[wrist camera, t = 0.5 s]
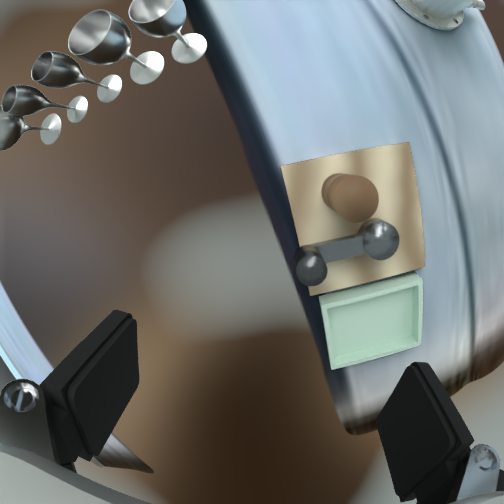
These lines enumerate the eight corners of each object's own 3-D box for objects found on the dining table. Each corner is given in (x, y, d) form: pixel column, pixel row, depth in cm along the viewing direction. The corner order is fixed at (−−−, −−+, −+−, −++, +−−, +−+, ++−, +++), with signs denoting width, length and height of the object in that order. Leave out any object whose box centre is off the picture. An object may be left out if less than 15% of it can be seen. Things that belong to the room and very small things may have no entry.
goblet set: (201, 24, 26) (164, -34, 14) (214, 59, 28) (179, 6, 15) (36, 122, 31) (-30, 121, 18) (42, 155, 32) (-25, 161, 20)
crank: (387, 214, 29) (411, 226, 23) (392, 248, 30) (415, 267, 24) (289, 236, 31) (291, 254, 25) (296, 271, 32) (301, 295, 26)
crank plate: (403, 142, 28) (409, 142, 27) (420, 262, 32) (425, 266, 31) (280, 166, 31) (280, 166, 29) (308, 290, 35) (310, 295, 33)
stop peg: (353, 170, 29) (373, 171, 22) (360, 206, 30) (382, 217, 23) (317, 177, 29) (329, 180, 23) (325, 213, 30) (339, 227, 24)
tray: (414, 271, 33) (422, 279, 30) (414, 335, 35) (421, 344, 33) (318, 296, 35) (321, 305, 32) (329, 358, 37) (331, 369, 35)
